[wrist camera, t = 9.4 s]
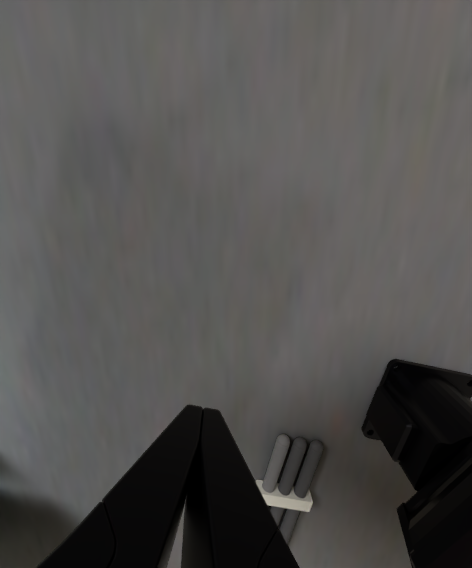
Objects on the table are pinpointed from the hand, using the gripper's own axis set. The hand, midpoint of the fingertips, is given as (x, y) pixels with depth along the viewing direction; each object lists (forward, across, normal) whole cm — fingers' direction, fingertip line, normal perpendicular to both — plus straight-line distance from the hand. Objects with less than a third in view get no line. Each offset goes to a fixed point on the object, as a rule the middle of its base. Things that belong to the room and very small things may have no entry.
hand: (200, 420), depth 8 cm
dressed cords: (+13, -8, +22) cm, 27 cm away
